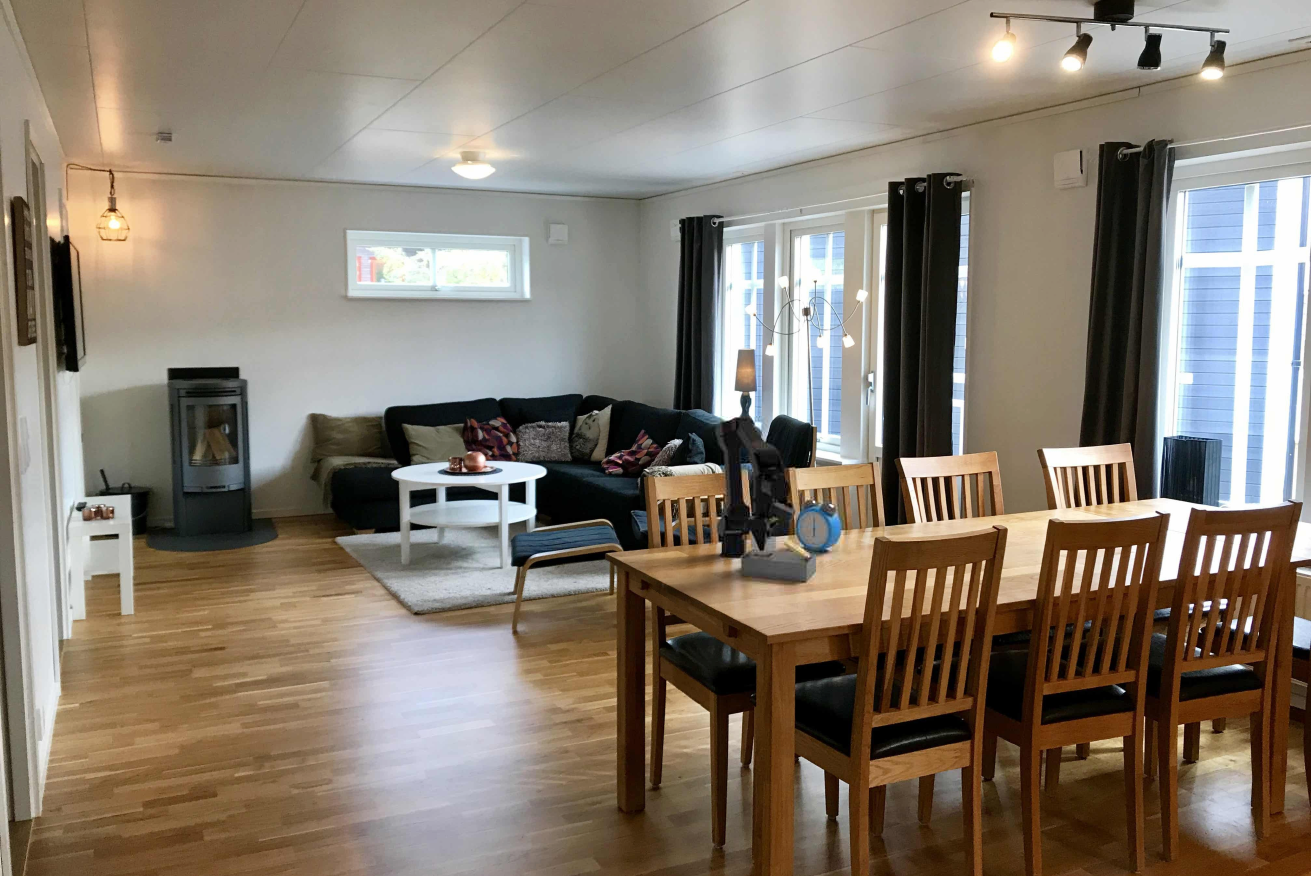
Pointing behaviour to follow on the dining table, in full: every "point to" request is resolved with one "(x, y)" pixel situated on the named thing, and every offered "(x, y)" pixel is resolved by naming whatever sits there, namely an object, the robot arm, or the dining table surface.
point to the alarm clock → (818, 526)
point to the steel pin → (769, 545)
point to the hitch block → (778, 566)
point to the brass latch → (797, 549)
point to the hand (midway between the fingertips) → (763, 549)
